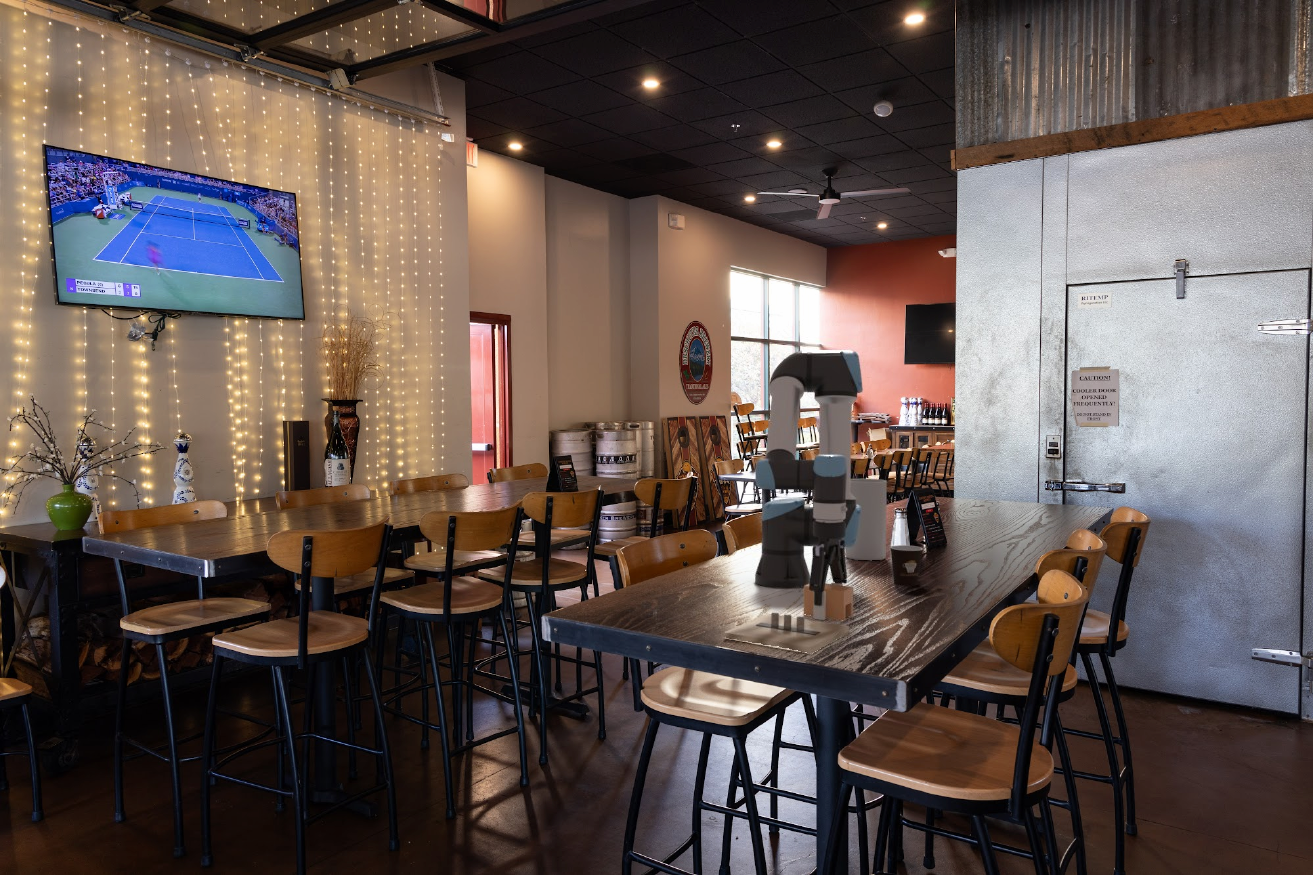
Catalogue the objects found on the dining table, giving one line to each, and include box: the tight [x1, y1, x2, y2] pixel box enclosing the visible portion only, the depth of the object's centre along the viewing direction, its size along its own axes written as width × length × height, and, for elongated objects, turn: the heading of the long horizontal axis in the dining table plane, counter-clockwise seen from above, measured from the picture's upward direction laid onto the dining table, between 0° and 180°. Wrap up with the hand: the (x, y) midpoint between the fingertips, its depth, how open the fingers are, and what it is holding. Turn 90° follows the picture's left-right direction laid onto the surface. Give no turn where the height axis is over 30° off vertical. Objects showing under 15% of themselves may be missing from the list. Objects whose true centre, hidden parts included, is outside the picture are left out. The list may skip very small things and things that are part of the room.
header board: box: [723, 612, 850, 655], centre depth 189 cm, size 20×20×4 cm
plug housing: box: [803, 582, 854, 622], centre depth 208 cm, size 10×6×7 cm, turn 56°
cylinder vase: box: [845, 478, 888, 562], centre depth 282 cm, size 12×12×25 cm
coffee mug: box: [889, 544, 936, 587], centre depth 243 cm, size 12×9×10 cm
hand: (828, 614), depth 208 cm, fingers open, 9 cm apart
